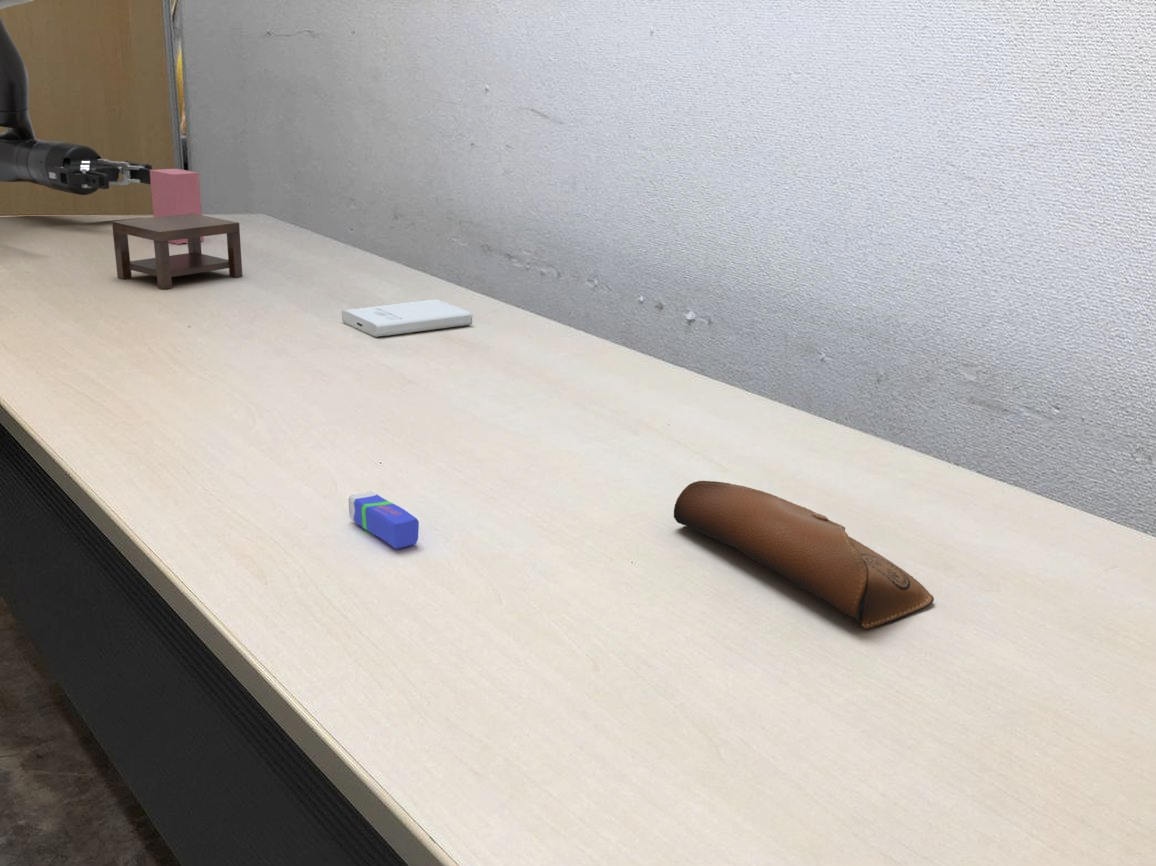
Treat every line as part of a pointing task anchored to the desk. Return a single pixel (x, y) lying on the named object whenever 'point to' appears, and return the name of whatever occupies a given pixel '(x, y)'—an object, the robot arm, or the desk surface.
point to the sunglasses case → (803, 550)
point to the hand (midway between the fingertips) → (132, 179)
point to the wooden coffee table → (175, 230)
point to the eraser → (384, 519)
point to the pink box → (175, 194)
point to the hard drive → (406, 317)
